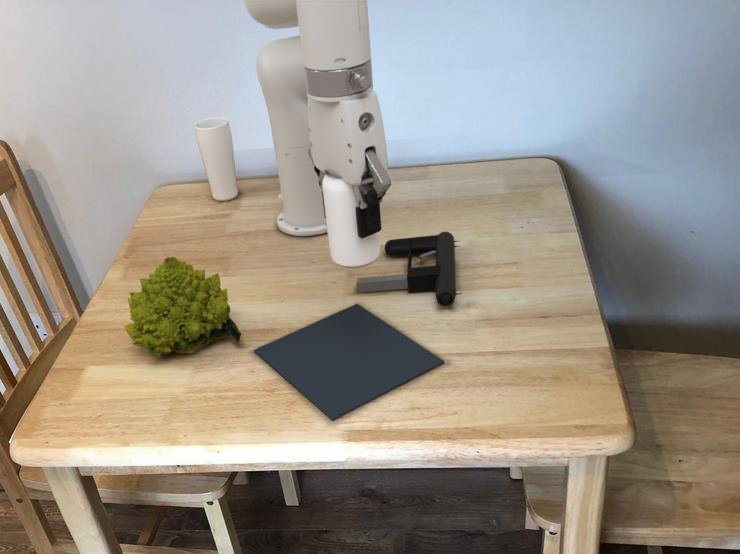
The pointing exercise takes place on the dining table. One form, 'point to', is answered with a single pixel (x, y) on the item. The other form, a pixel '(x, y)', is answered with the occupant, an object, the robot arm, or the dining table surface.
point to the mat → (347, 360)
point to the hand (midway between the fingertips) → (352, 223)
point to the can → (346, 225)
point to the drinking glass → (217, 156)
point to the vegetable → (179, 310)
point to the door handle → (420, 268)
